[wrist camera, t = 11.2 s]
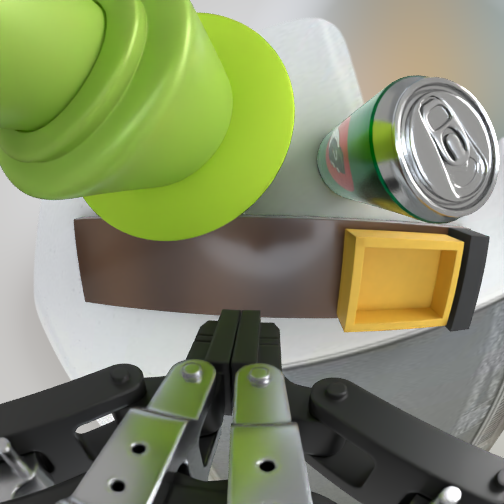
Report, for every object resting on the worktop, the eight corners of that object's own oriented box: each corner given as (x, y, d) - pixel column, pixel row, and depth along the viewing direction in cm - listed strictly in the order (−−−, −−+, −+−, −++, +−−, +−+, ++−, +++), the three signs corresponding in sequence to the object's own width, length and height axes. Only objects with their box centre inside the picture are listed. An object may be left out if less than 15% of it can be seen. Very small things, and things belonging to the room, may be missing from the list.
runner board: (92, 296, 22) (85, 301, 21) (81, 217, 20) (73, 219, 19) (448, 306, 20) (454, 312, 19) (462, 226, 18) (471, 229, 17)
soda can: (345, 213, 19) (438, 263, 7) (300, 153, 18) (344, 112, 6) (398, 172, 18) (522, 175, 6) (356, 113, 17) (450, 45, 5)
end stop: (432, 314, 19) (450, 331, 16) (448, 227, 17) (471, 235, 14) (450, 312, 19) (468, 329, 16) (466, 228, 17) (489, 236, 14)
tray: (336, 314, 19) (344, 332, 16) (345, 228, 17) (356, 236, 15) (430, 310, 18) (446, 325, 16) (444, 234, 17) (464, 242, 14)
